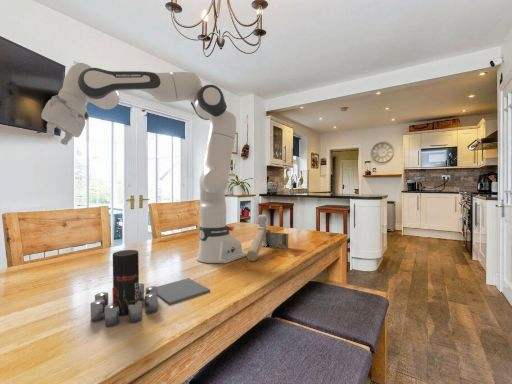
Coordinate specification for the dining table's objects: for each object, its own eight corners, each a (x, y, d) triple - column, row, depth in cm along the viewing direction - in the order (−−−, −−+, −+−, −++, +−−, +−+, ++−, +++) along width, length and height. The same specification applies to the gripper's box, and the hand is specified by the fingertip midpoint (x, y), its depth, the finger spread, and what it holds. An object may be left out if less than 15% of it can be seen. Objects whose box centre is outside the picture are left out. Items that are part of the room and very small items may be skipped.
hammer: (256, 239, 109) (267, 214, 137) (245, 239, 110) (258, 214, 138) (258, 273, 113) (268, 242, 142) (247, 273, 114) (259, 242, 142)
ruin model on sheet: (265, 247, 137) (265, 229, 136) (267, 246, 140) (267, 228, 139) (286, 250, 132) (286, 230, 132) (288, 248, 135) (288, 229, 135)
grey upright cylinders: (146, 292, 80) (145, 279, 80) (169, 311, 69) (169, 295, 68) (83, 309, 69) (83, 294, 69) (99, 335, 58) (99, 317, 58)
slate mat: (188, 279, 91) (188, 278, 91) (210, 291, 81) (210, 289, 81) (150, 290, 82) (150, 288, 82) (169, 304, 72) (169, 302, 72)
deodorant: (136, 314, 67) (135, 255, 66) (110, 317, 65) (109, 256, 65) (141, 304, 72) (140, 249, 72) (117, 306, 71) (116, 250, 71)
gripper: (65, 96, 88) (49, 134, 86) (90, 118, 108) (78, 150, 106) (44, 89, 87) (28, 128, 85) (74, 113, 107) (62, 145, 105)
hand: (56, 140), depth 96 cm, fingers open, 8 cm apart
